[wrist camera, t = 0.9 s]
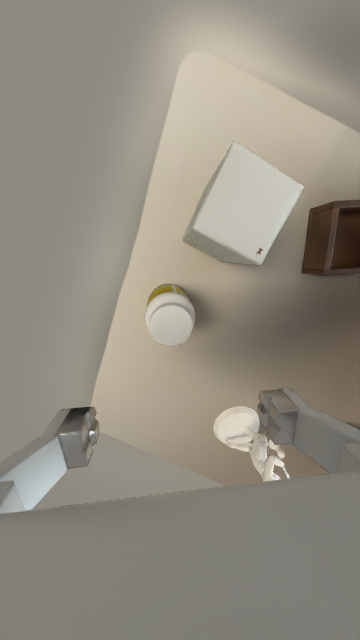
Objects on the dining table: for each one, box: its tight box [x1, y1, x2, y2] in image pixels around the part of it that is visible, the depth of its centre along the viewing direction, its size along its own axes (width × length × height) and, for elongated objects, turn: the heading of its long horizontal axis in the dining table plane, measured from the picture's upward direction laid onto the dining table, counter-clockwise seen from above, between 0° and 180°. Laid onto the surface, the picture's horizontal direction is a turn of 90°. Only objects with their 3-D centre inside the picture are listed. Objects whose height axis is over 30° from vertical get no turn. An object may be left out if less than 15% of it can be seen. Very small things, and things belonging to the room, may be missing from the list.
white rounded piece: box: [268, 439, 285, 458], centre depth 41 cm, size 3×3×4 cm
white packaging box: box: [183, 141, 303, 265], centre depth 23 cm, size 7×7×13 cm
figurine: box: [213, 406, 290, 482], centre depth 32 cm, size 10×10×18 cm
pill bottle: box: [145, 284, 195, 346], centre depth 27 cm, size 6×6×11 cm
